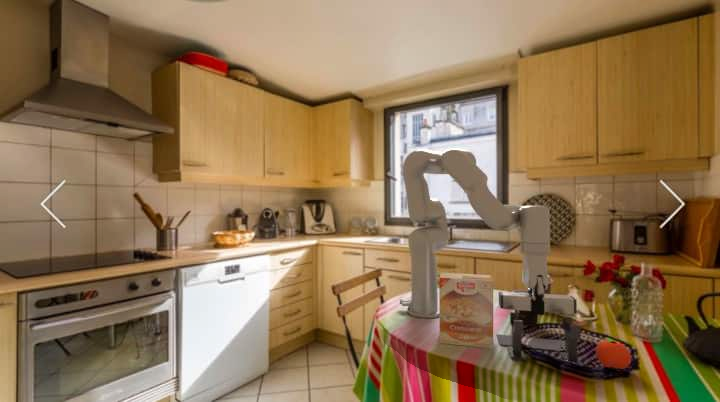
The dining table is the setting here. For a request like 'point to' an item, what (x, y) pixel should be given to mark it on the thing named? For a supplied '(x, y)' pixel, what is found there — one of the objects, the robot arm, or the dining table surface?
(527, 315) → the coffee mug
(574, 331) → the right post
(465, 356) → the dining table surface
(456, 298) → the coffeecake box
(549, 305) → the steel rail
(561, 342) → the flat grey plate
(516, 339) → the left post
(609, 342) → the tomato
